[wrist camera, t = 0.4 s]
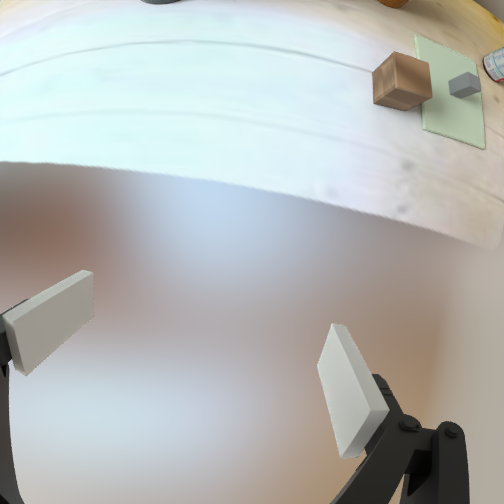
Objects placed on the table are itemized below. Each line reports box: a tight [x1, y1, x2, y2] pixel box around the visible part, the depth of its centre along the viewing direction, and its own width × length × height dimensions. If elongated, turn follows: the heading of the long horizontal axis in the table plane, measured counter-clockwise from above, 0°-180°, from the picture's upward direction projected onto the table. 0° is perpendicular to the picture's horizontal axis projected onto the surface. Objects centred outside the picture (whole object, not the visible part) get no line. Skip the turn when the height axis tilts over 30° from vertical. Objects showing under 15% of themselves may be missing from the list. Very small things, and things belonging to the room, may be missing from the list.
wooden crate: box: [372, 51, 433, 111], centre depth 30 cm, size 5×5×9 cm
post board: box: [414, 35, 485, 149], centre depth 30 cm, size 18×14×7 cm
